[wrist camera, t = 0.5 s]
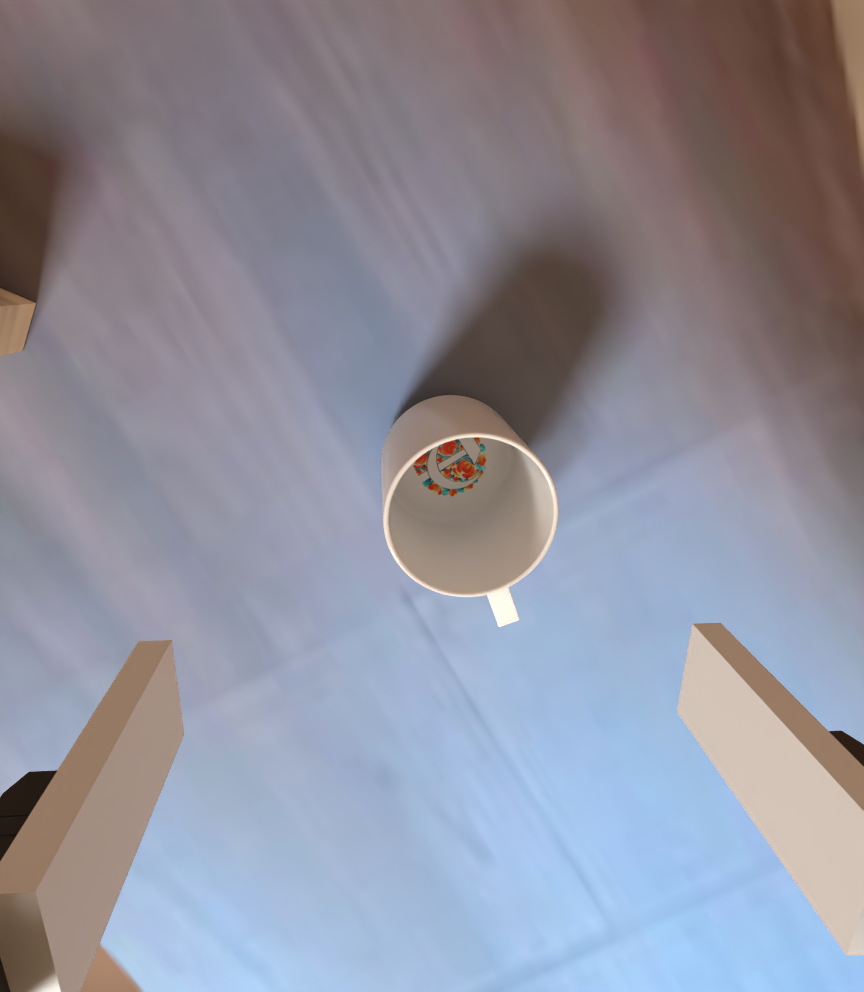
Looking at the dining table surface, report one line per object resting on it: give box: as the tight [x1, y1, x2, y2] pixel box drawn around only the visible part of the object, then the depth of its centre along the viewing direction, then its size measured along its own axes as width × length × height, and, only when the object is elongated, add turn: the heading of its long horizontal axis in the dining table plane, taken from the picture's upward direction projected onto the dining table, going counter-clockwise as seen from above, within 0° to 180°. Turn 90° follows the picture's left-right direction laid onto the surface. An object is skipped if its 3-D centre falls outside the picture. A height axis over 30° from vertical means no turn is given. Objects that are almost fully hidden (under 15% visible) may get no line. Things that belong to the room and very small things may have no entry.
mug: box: [380, 395, 559, 627], centre depth 38 cm, size 12×9×11 cm
